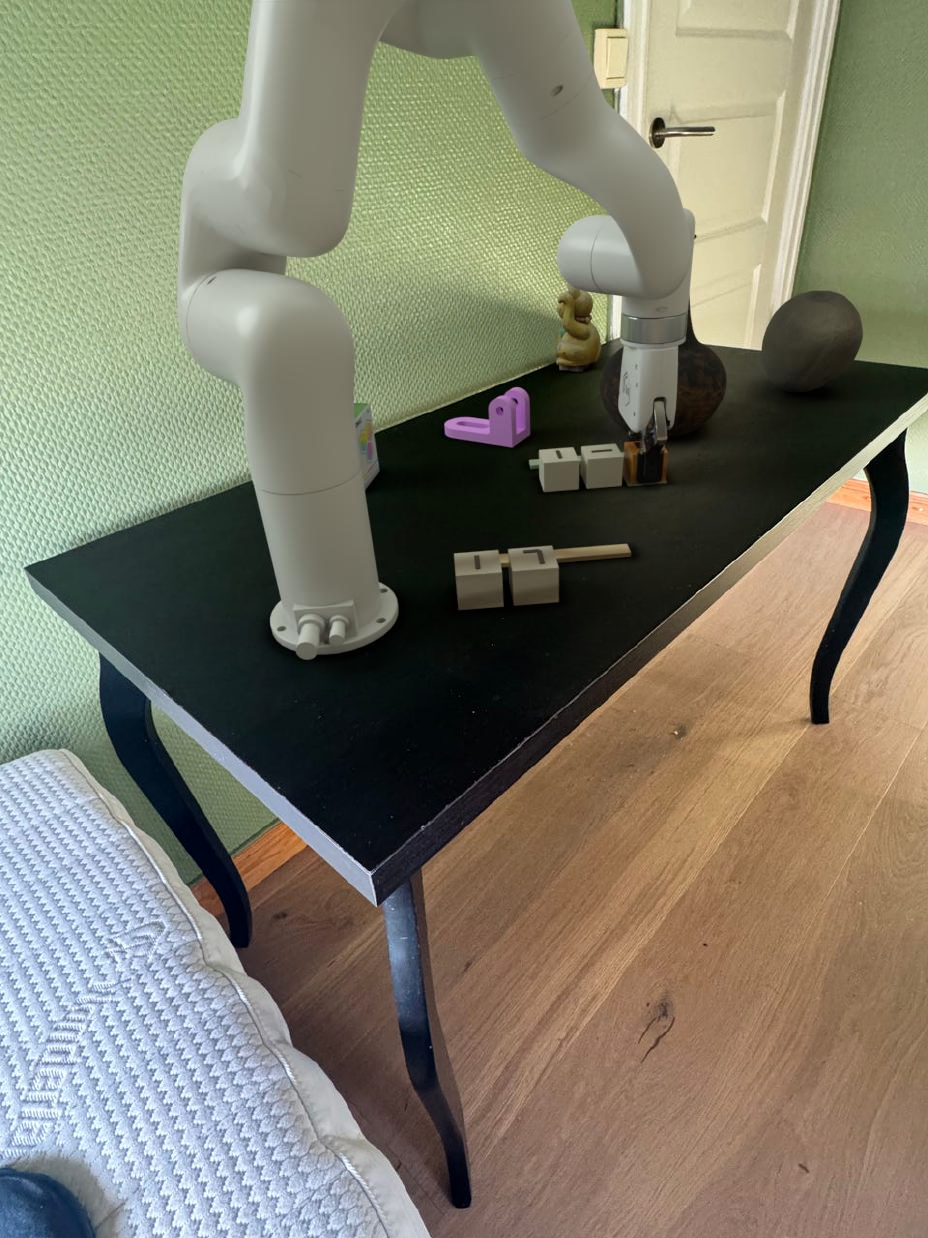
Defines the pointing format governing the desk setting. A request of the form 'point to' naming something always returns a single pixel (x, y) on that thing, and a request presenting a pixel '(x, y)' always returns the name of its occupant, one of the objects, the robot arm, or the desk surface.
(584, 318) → the decorative figurine
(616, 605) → the desk surface
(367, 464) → the ink box
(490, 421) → the bracket
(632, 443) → the orange-brown block
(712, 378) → the brown bottle
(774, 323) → the dark grey rounded piece
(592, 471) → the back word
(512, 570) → the front word
